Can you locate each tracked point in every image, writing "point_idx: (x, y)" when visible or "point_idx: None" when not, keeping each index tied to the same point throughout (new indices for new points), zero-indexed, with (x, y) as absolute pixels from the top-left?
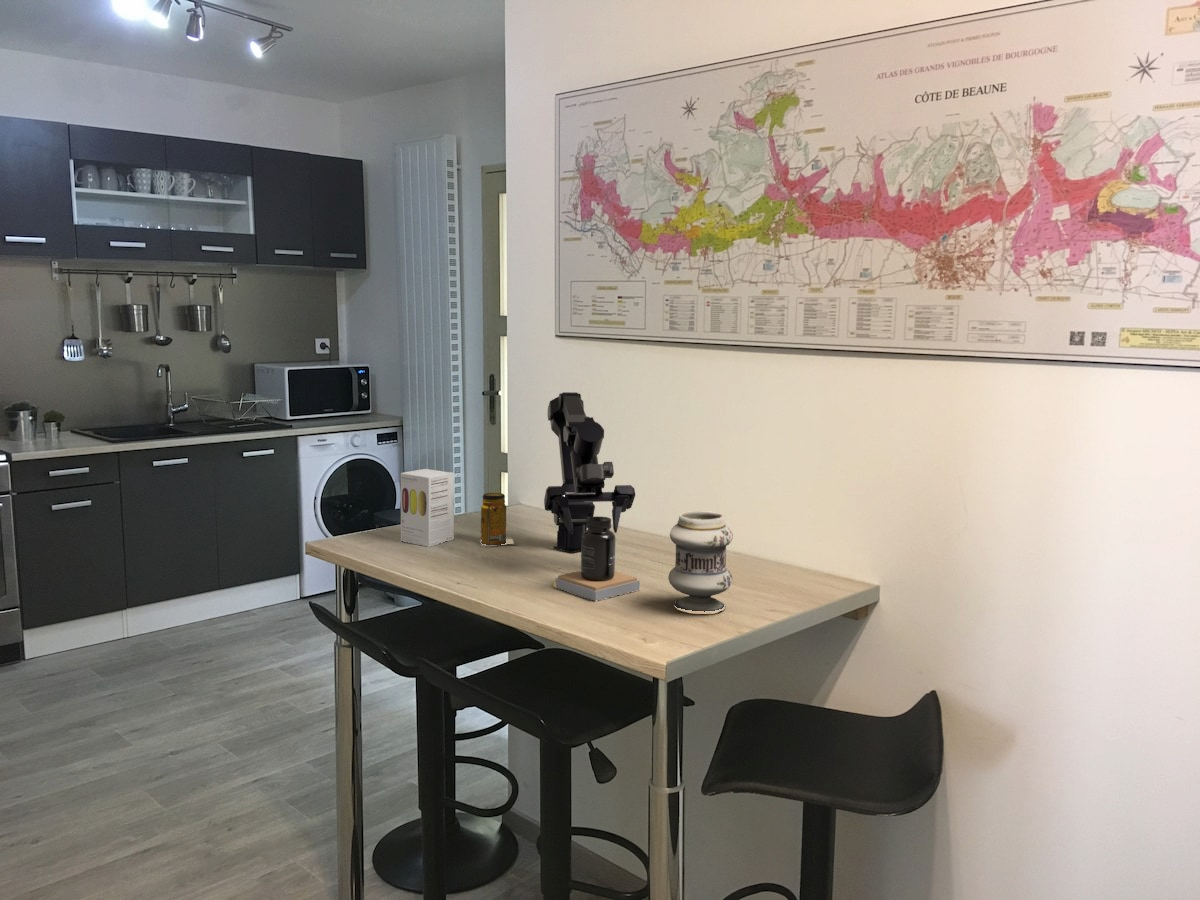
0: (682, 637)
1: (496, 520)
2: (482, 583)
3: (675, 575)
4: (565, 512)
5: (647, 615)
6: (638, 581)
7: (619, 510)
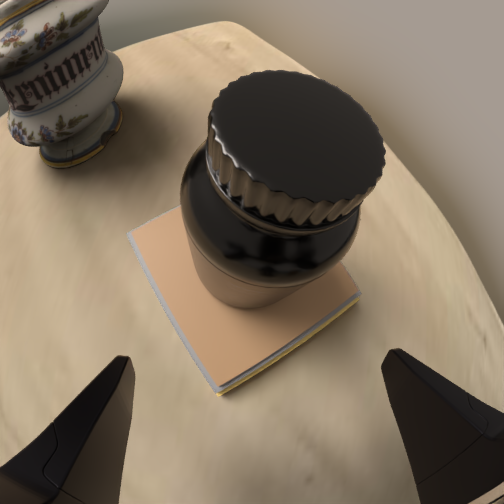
0: (177, 47)
1: None
2: (463, 340)
3: (115, 63)
4: (482, 405)
5: (185, 101)
6: (130, 231)
7: (37, 452)
